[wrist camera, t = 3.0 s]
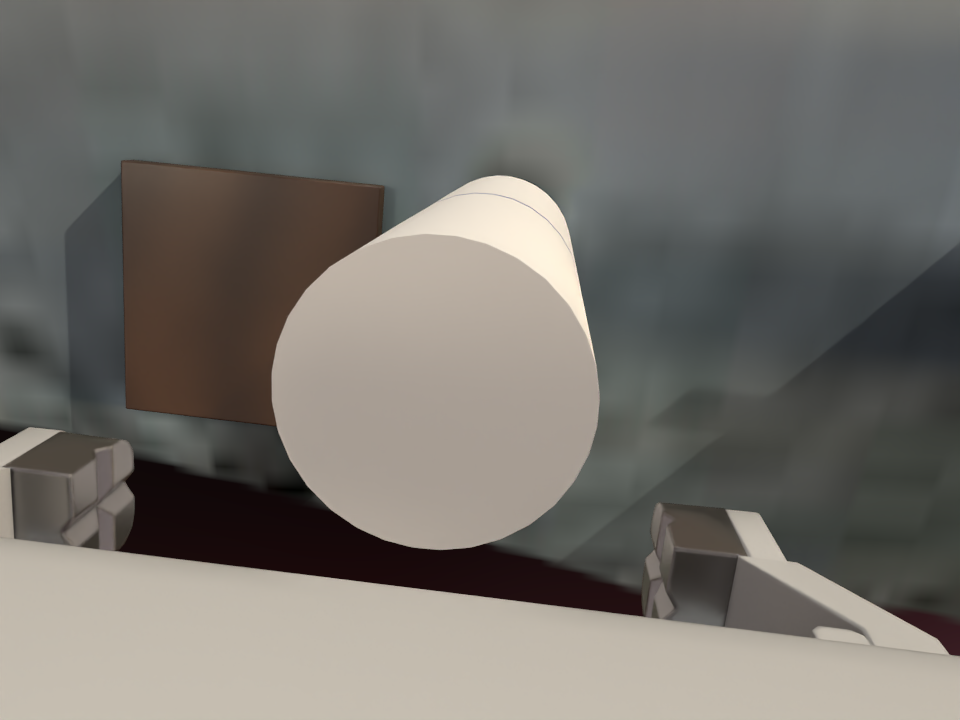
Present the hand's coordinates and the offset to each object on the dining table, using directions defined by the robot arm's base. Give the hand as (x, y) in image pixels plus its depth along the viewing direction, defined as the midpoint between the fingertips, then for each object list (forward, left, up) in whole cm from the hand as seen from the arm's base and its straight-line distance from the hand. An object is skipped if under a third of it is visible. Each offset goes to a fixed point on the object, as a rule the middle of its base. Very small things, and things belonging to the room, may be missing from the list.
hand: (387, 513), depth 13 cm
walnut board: (+12, +4, -30) cm, 33 cm away
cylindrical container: (0, 0, -31) cm, 31 cm away
